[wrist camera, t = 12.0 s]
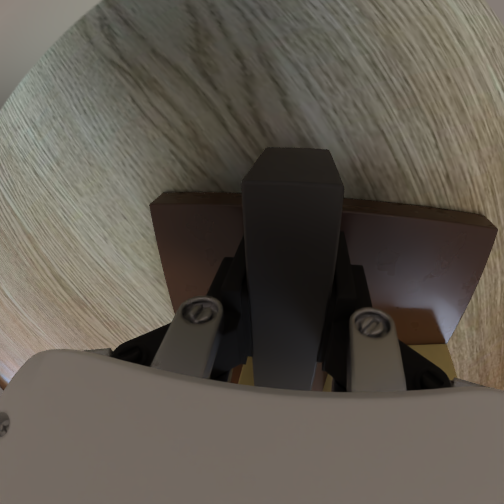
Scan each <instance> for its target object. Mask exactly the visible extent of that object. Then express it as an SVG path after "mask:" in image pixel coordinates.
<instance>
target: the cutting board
mask: <svg viewBox="0 0 504 504" xmlns="http://www.w3.org/2000/svg"><path fill="white" fill-rule="evenodd" d="M149 206H150V211H151V217H152V222H153V227H154V231H155V236H156V241H157V245H158V250H159V254H160V258H161V263H162V267H163V271H164V275H165V279H166V283H167V287H168V291H169V294H170V298H171V302H172V306H173V309H174V313H175V314H176V312H177V310H178V308H179V307H180V305H181V304H182V303H183V302H185V301H186V300H188V299H190V298H192V297H196V296H206V294H207V292H208V290H209V288H210V286H211V284H212V281H213V279H214V277H215V275H216V273H217V271H218V269H219V266H220V264H221V262H222V260H223V258H224V257H234V256H235V253H236V251H237V249H238V246H239V244H240V241H241V239H242V237H243V234H244V224H243V208H242V193H223V192H171V193H162V194H161V195H160V196H159V197H157V198H156V199H155V200H154V201H153V202H151V203H150V205H149ZM340 231H344V234H345V239H346V243H347V248H348V253H349V258H350V263H351V264H352V265H362V266H363V268H364V272H365V276H366V280H367V284H368V289H369V293H370V298H371V302H372V307H373V308H378V309H380V310H383V311H384V312H386V313H387V314H389V315H390V316H391V318H392V319H393V321H394V323H395V327H396V331H397V336H398V339H399V340H400V341H402V342H403V343H405V344H406V345H428V344H447V343H448V341H449V339H450V337H451V336H452V334H453V332H454V330H455V329H456V327H457V325H458V323H459V321H460V319H461V317H462V316H463V314H464V312H465V310H466V308H467V306H468V304H469V302H470V299H471V297H472V295H473V293H474V291H475V289H476V286H477V284H478V282H479V280H480V277H481V275H482V273H483V270H484V268H485V265H486V263H487V260H488V257H489V255H490V252H491V249H492V246H493V244H494V241H495V238H496V235H497V232H498V229H497V228H496V227H495V226H494V225H493V224H492V223H491V222H490V221H489V220H488V219H487V218H486V217H485V216H484V215H478V214H472V213H466V212H459V211H453V210H446V209H439V208H432V207H424V206H416V205H408V204H399V203H390V202H381V201H371V200H360V199H348V198H343V207H342V217H341V226H340ZM242 367H243V364H240V365H238V366H236V367H234V368H233V373H232V377H231V382H230V383H235V384H238V382H239V378H240V375H241V371H242ZM327 375H328V373H327V372H326V371H322V362H318V364H317V369H316V373H315V378H314V382H313V386H312V390H311V391H321V392H323V388H324V385H325V382H326V378H327Z"/></svg>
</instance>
